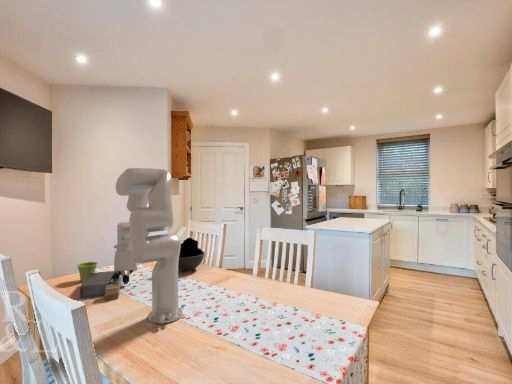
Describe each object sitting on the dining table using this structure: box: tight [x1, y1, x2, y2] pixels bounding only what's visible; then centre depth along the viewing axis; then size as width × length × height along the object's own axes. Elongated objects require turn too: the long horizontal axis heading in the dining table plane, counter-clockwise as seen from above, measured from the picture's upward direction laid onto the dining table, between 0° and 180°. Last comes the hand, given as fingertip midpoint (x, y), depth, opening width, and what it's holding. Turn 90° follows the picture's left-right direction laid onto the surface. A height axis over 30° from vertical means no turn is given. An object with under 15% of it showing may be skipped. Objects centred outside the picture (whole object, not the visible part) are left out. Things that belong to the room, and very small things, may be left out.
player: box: [79, 270, 120, 299], centre depth 135 cm, size 20×15×5 cm
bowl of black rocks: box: [178, 237, 205, 272], centre depth 165 cm, size 20×20×19 cm
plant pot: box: [76, 261, 99, 283], centre depth 147 cm, size 9×9×9 cm
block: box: [104, 284, 120, 301], centre depth 124 cm, size 5×5×5 cm
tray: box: [112, 275, 124, 291], centre depth 136 cm, size 14×14×4 cm
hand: (125, 283), depth 139 cm, fingers closed
